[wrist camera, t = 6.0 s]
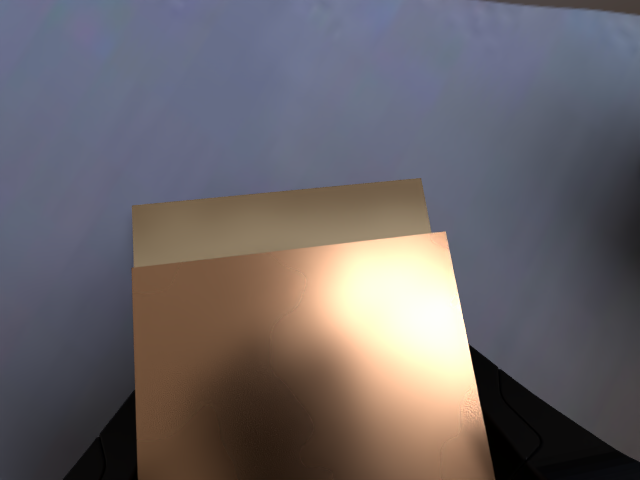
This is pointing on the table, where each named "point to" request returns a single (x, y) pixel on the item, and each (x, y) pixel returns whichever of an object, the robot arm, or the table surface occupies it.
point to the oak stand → (277, 221)
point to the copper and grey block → (307, 366)
